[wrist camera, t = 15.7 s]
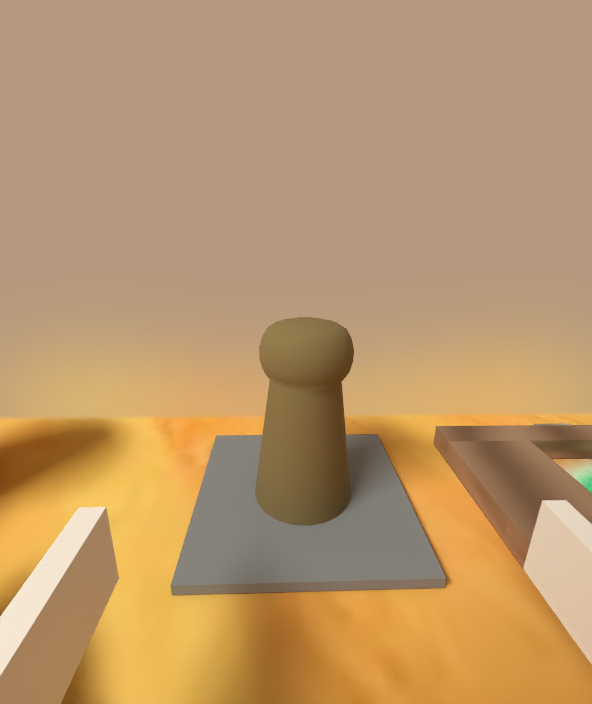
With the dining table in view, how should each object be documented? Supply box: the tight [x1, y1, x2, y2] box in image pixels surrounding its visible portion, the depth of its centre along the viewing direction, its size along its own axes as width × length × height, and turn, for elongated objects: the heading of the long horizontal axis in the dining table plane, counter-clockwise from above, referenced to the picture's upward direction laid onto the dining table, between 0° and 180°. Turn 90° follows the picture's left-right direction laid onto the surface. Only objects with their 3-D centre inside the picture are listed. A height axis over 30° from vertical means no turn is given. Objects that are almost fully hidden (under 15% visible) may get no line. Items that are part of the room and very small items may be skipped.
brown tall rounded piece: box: [255, 317, 354, 526], centre depth 22 cm, size 6×6×11 cm
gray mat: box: [171, 434, 447, 595], centre depth 24 cm, size 13×13×1 cm
